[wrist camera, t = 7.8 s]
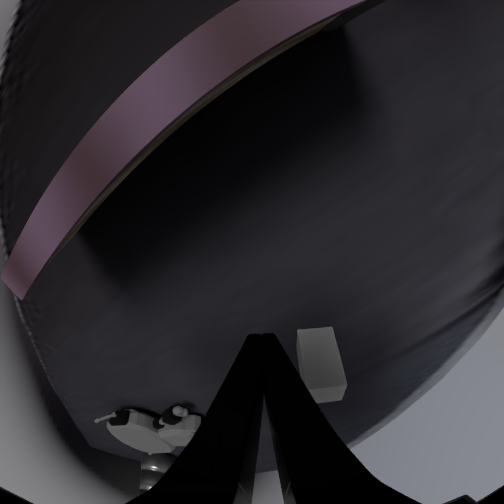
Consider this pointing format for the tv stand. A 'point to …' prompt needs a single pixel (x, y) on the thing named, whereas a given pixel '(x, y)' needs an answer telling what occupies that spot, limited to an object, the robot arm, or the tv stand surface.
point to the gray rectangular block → (321, 364)
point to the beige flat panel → (164, 114)
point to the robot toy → (153, 429)
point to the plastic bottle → (153, 469)
